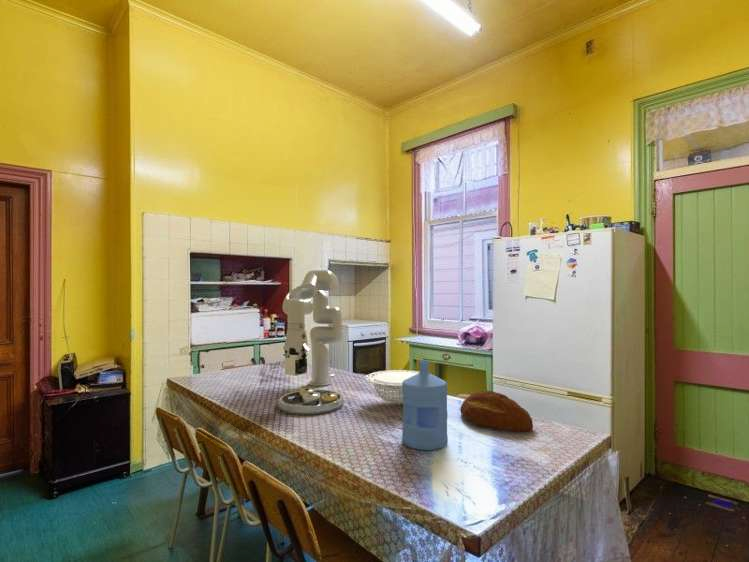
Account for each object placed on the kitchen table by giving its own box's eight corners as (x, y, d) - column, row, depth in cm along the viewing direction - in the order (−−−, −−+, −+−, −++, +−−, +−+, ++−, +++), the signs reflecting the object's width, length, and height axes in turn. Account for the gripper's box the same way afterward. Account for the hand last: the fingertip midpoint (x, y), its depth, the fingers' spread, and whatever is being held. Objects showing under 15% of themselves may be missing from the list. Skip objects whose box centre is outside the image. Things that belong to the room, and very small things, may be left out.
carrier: (312, 393, 210) (312, 382, 210) (356, 403, 192) (356, 391, 192) (265, 407, 186) (265, 394, 187) (310, 419, 169) (310, 405, 169)
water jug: (418, 431, 155) (417, 355, 155) (455, 441, 145) (455, 360, 145) (393, 443, 143) (392, 362, 143) (432, 455, 133) (431, 367, 133)
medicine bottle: (295, 376, 182) (295, 348, 182) (284, 373, 186) (284, 347, 186) (307, 373, 187) (307, 346, 188) (296, 371, 192) (296, 345, 192)
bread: (510, 441, 145) (510, 406, 145) (445, 417, 172) (445, 387, 172) (547, 430, 156) (547, 397, 156) (481, 408, 184) (480, 380, 184)
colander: (426, 419, 169) (426, 387, 169) (354, 411, 179) (353, 382, 179) (440, 398, 199) (440, 372, 199) (377, 393, 209) (377, 368, 209)
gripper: (315, 327, 185) (315, 367, 184) (289, 325, 195) (289, 363, 195) (303, 328, 179) (303, 370, 179) (276, 326, 189) (276, 365, 189)
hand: (296, 366), depth 187 cm, fingers closed on medicine bottle, 7 cm apart
